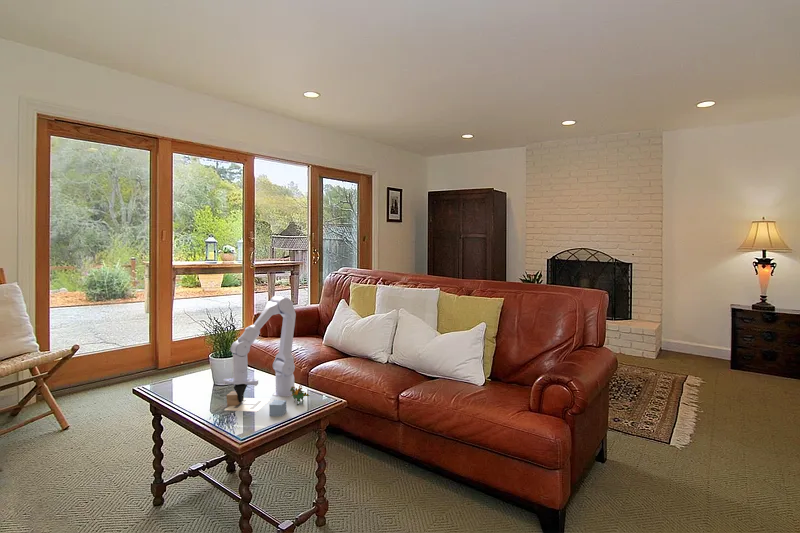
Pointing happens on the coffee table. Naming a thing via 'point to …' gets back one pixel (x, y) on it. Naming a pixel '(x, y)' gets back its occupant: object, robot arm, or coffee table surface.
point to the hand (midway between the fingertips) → (240, 401)
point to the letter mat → (249, 405)
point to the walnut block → (232, 399)
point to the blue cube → (277, 408)
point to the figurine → (298, 394)
